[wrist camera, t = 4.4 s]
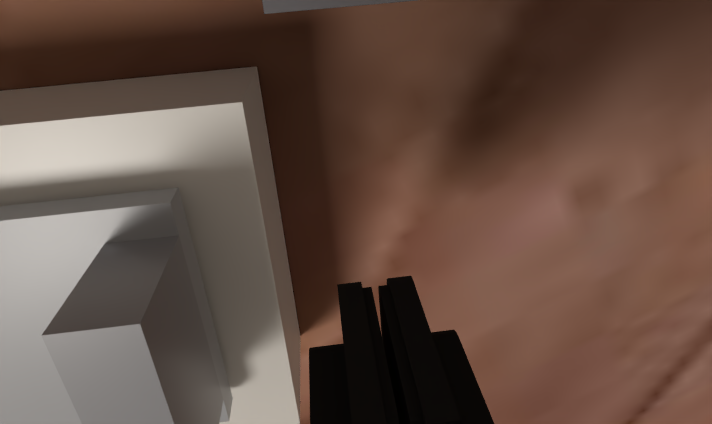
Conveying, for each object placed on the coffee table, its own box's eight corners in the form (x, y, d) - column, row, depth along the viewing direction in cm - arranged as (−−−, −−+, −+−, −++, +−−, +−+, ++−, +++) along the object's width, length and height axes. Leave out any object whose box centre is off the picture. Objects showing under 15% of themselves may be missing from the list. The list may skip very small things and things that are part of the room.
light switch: (256, 66, 15) (242, 102, 11) (300, 336, 19) (299, 423, 16) (-106, 100, 14) (-243, 149, 11) (28, 369, 19) (-37, 467, 15)
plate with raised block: (178, 187, 11) (126, 284, 8) (232, 398, 14) (211, 533, 11) (-127, 219, 11) (-314, 334, 8) (-6, 428, 14) (-103, 577, 11)
